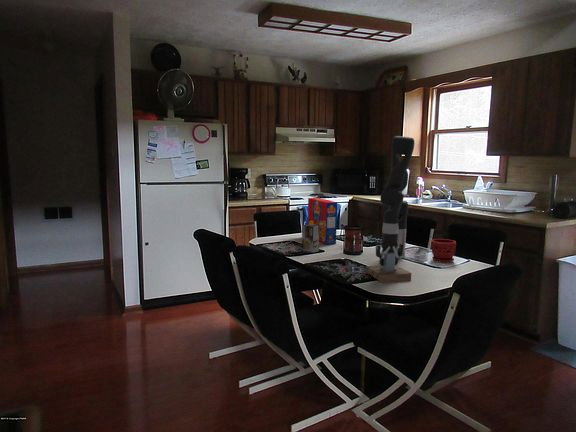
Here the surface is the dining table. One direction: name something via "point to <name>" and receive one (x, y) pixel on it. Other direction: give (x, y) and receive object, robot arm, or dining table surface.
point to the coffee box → (310, 238)
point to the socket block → (388, 274)
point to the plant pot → (443, 250)
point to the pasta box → (323, 218)
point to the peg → (389, 262)
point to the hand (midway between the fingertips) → (388, 265)
